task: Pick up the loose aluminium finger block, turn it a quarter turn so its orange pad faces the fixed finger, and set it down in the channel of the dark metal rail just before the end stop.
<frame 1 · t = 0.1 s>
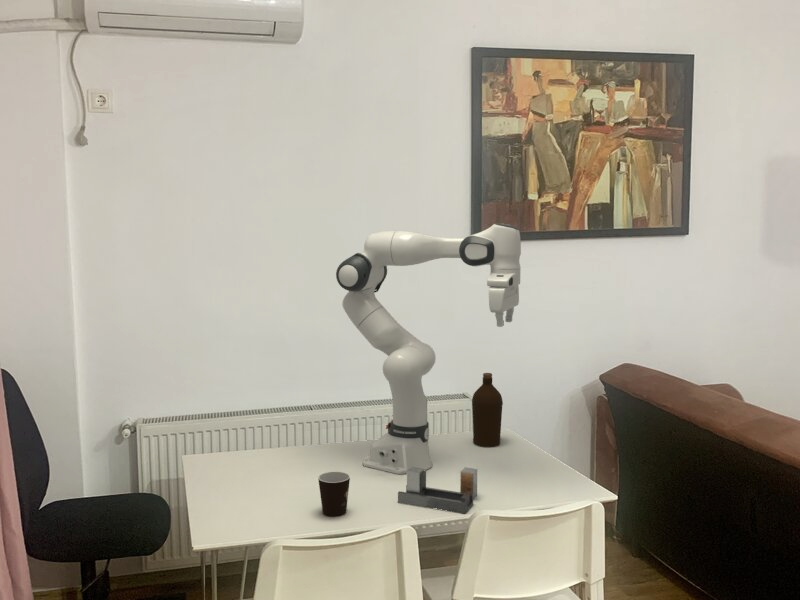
hand: (504, 324, 230), 48 cm above the table, tool pointing down, fingers open, 8 cm apart
olive oil: (486, 443, 270), on the table
finger: (468, 497, 221), on the table
rail: (435, 503, 216), on the table
coffee mug: (337, 511, 211), on the table
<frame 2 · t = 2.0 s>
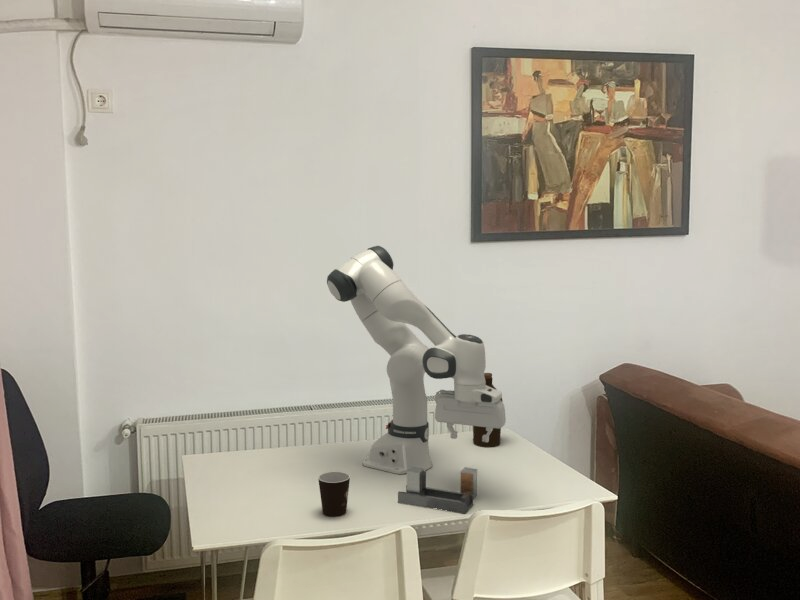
hand: (469, 439, 218), 17 cm above the table, tool pointing down, fingers open, 8 cm apart
nothing on the table moved.
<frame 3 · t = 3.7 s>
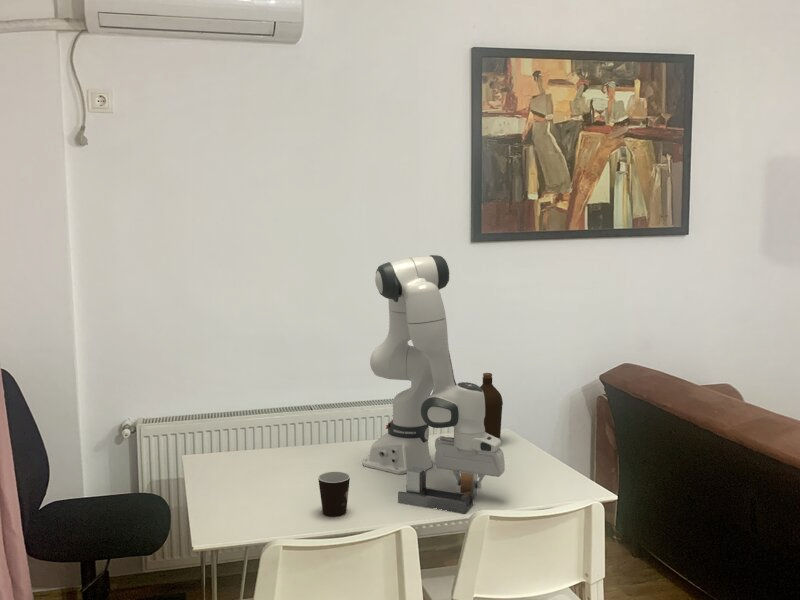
hand: (468, 486, 220), 3 cm above the table, tool pointing down, fingers closed on finger, 4 cm apart
finger: (468, 497, 221), on the table, touching gripper
everything else where it was.
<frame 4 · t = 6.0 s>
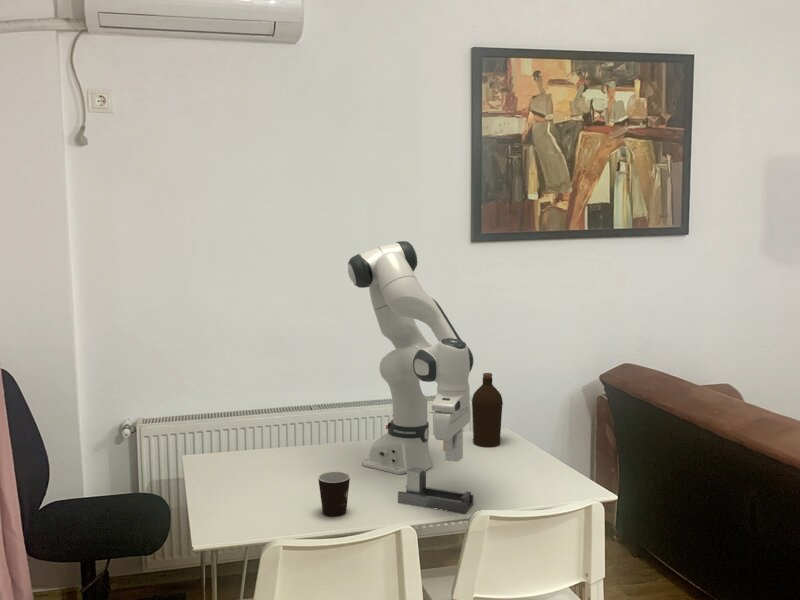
hand: (453, 447, 212), 17 cm above the table, tool pointing down, fingers closed on finger, 4 cm apart
finger: (454, 459, 212), point 14 cm above the table, touching gripper
everything else where it was.
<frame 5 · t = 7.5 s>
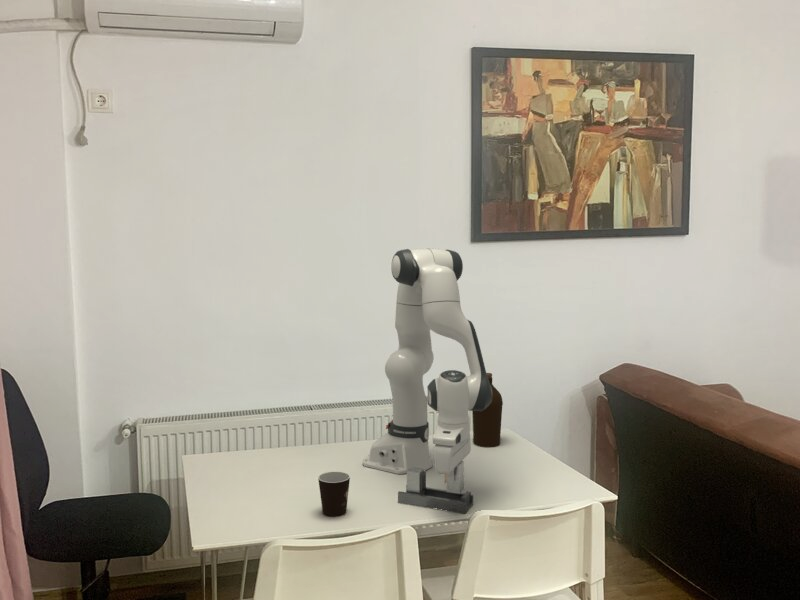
hand: (454, 479, 212), 8 cm above the table, tool pointing down, fingers closed on finger, 4 cm apart
finger: (455, 490, 213), point 5 cm above the table, touching gripper
everything else where it was.
when the fingers open (6 cm above the table, at t = 8.3 s): finger drops 1 cm, resting on rail.
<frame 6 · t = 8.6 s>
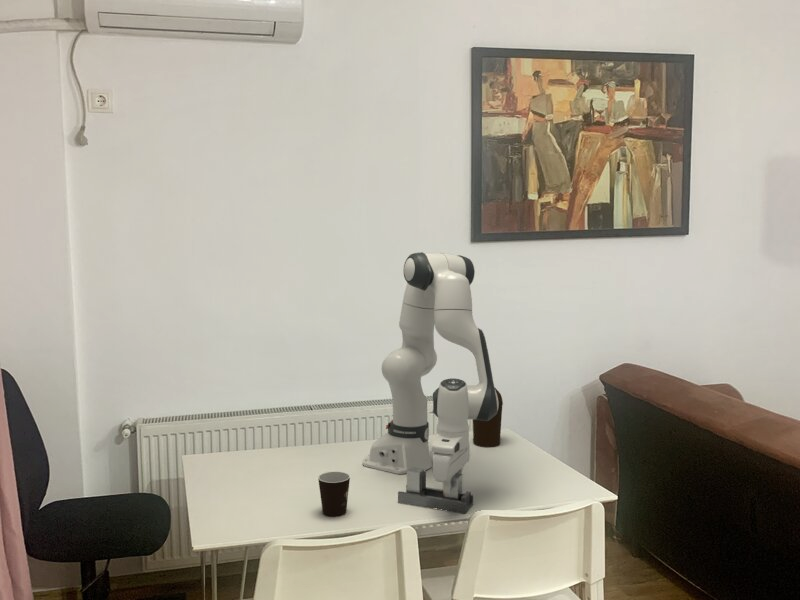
hand: (452, 487, 213), 6 cm above the table, tool pointing down, fingers open, 6 cm apart
finger: (453, 503, 213), point 1 cm above the table, touching rail
everything else where it was.
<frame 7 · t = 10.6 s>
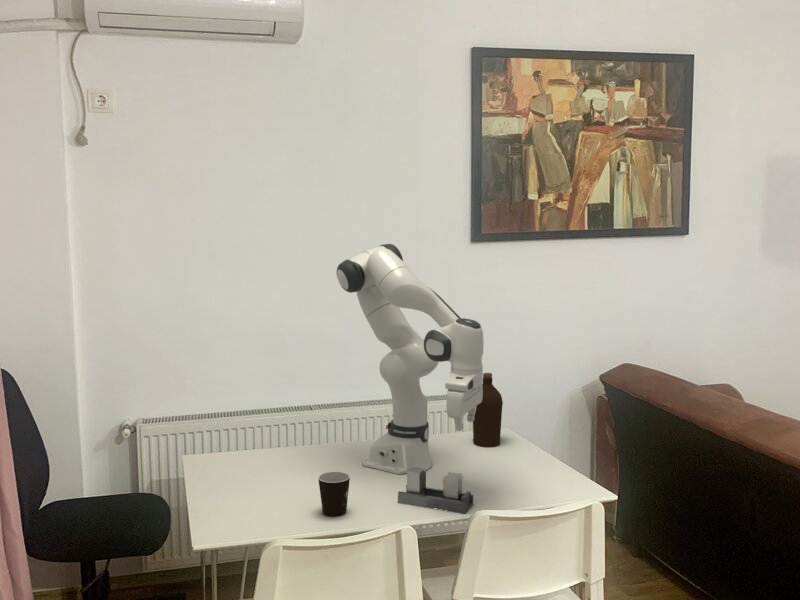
hand: (465, 425, 215), 22 cm above the table, tool pointing down, fingers open, 8 cm apart
nothing on the table moved.
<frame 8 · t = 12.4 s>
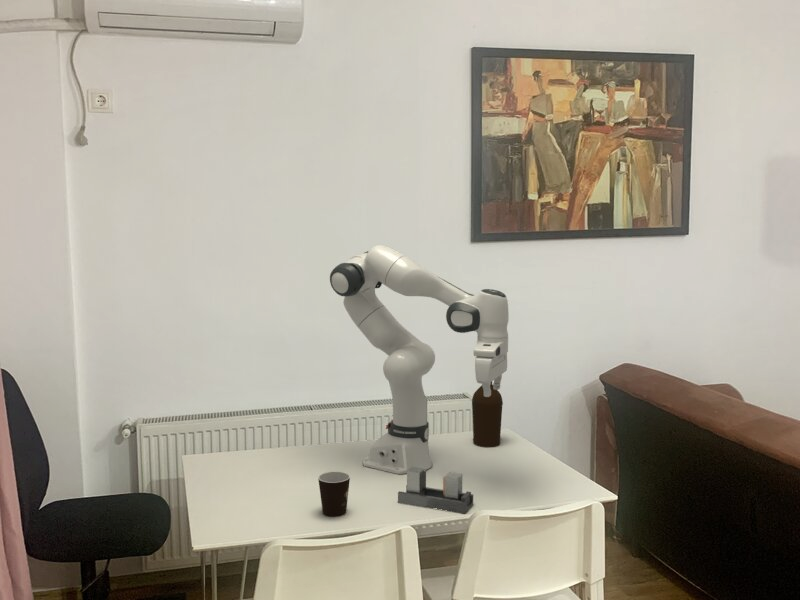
hand: (492, 392, 223), 29 cm above the table, tool pointing down, fingers open, 8 cm apart
nothing on the table moved.
at the end: finger 0.3 cm from the target spot on the rail, point 1.0 cm above the rail's base; finger tilted 0°; the gripper is holding nothing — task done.
